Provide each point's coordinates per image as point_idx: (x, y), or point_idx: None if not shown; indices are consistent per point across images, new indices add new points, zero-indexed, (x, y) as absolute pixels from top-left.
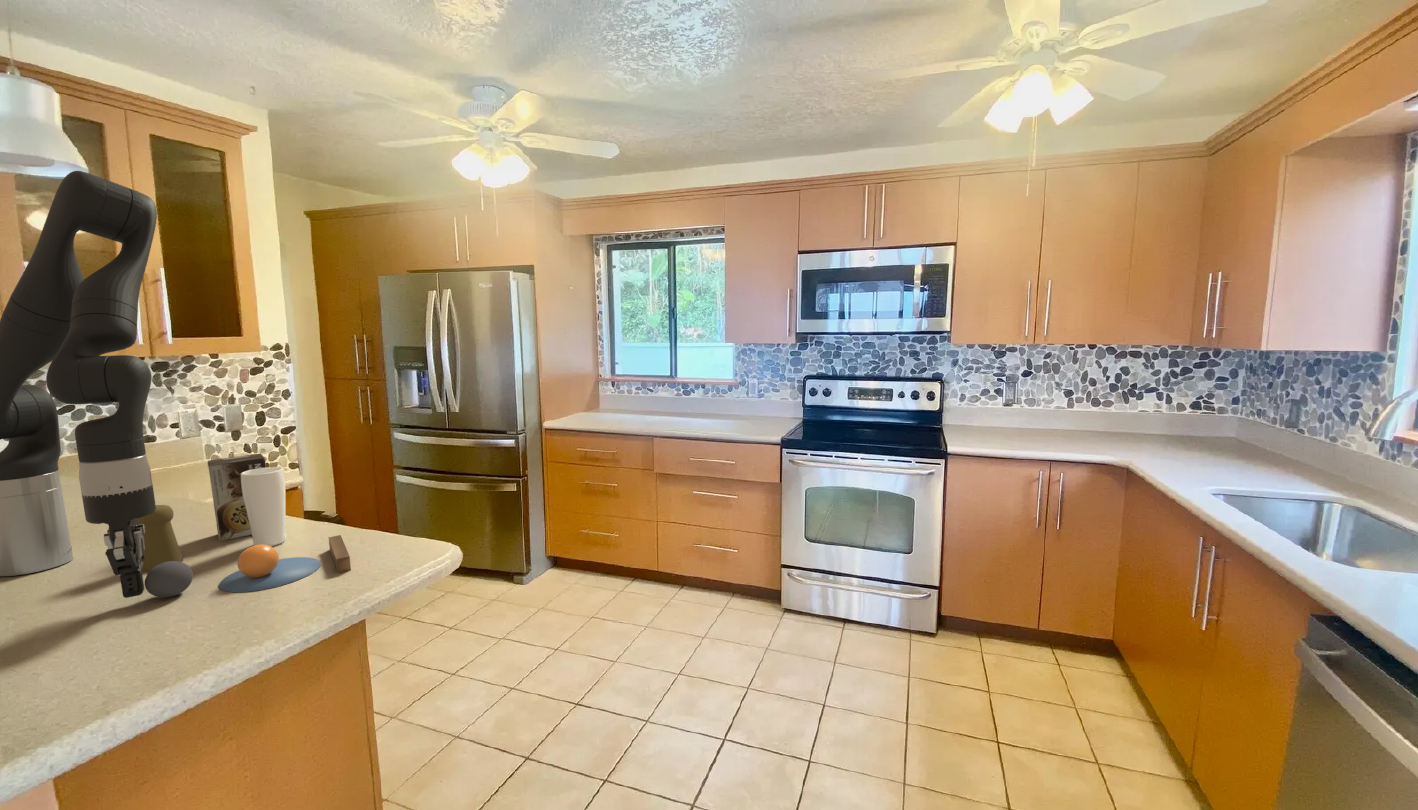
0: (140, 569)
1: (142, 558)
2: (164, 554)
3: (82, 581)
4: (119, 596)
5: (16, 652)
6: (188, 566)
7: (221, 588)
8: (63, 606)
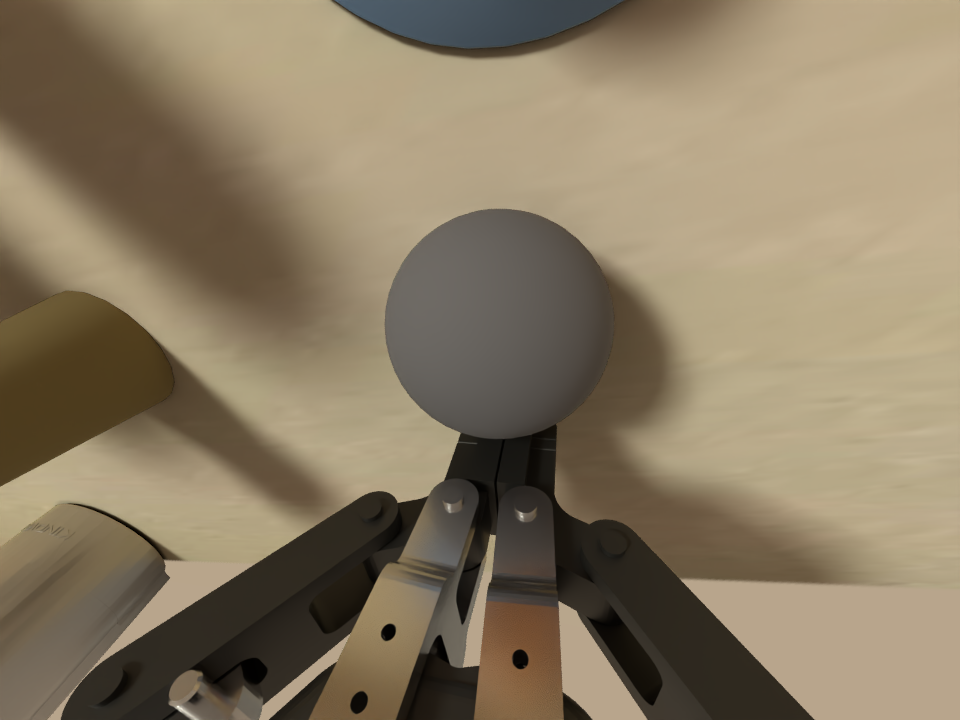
0: (526, 495)
1: (396, 514)
2: (84, 364)
3: (224, 490)
4: (397, 429)
5: (720, 575)
6: (470, 248)
7: (604, 11)
8: None
